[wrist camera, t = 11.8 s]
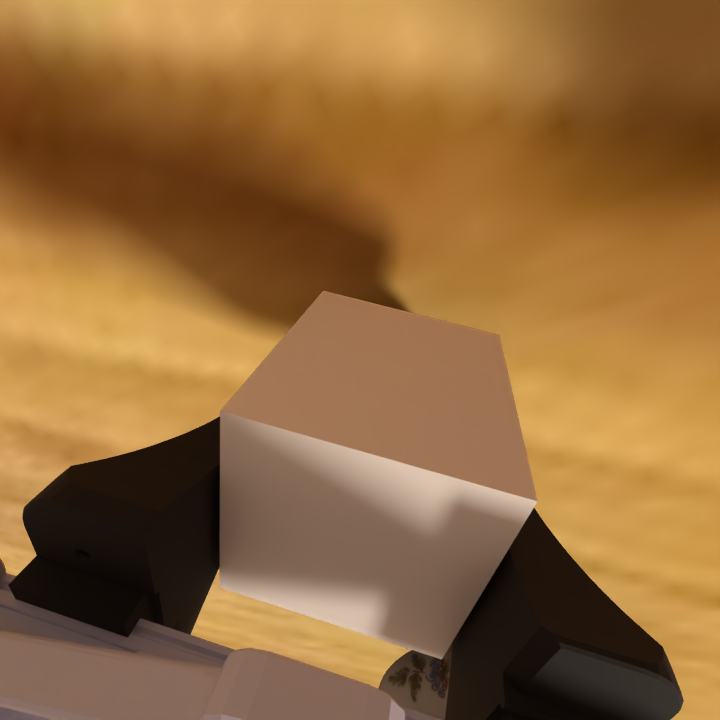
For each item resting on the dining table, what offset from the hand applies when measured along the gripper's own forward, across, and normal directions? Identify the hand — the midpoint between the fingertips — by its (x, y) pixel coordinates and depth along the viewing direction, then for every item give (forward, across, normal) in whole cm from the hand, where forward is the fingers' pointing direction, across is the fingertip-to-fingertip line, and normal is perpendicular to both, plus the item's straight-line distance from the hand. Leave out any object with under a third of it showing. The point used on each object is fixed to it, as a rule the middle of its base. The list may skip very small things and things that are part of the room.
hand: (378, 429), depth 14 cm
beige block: (+2, 0, -1) cm, 2 cm away
